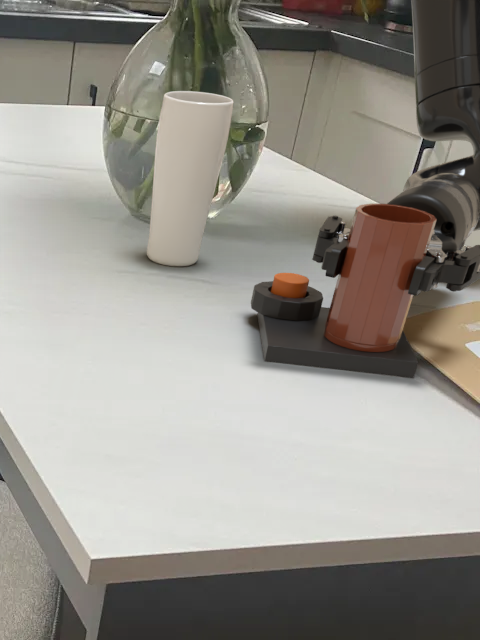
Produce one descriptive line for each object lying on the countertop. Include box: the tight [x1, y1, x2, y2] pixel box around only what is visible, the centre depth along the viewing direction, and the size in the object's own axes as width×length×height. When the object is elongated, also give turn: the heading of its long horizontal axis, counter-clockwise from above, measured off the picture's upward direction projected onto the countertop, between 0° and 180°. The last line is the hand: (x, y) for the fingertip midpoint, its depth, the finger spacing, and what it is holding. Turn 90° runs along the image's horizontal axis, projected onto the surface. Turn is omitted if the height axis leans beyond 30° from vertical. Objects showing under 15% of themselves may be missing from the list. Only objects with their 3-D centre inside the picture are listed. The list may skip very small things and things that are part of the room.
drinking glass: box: [146, 90, 235, 267], centre depth 105 cm, size 7×7×15 cm
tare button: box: [271, 272, 310, 298], centre depth 94 cm, size 3×3×2 cm
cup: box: [324, 203, 437, 352], centre depth 86 cm, size 6×6×10 cm
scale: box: [250, 280, 419, 379], centre depth 92 cm, size 13×13×3 cm
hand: (373, 272), depth 84 cm, fingers closed on cup, 6 cm apart
